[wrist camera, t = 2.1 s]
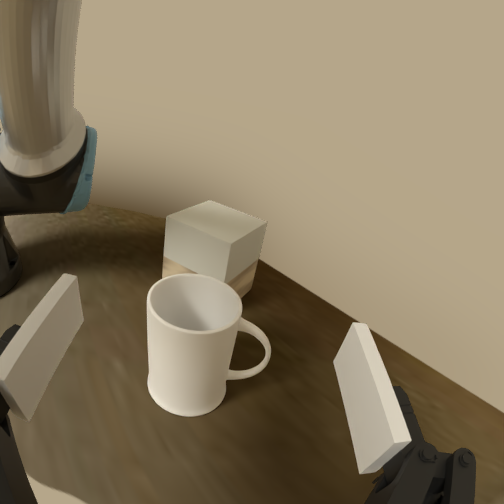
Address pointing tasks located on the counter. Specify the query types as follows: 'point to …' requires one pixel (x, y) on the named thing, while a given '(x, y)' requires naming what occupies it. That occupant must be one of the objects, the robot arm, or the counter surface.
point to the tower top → (214, 240)
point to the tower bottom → (238, 284)
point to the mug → (194, 342)
